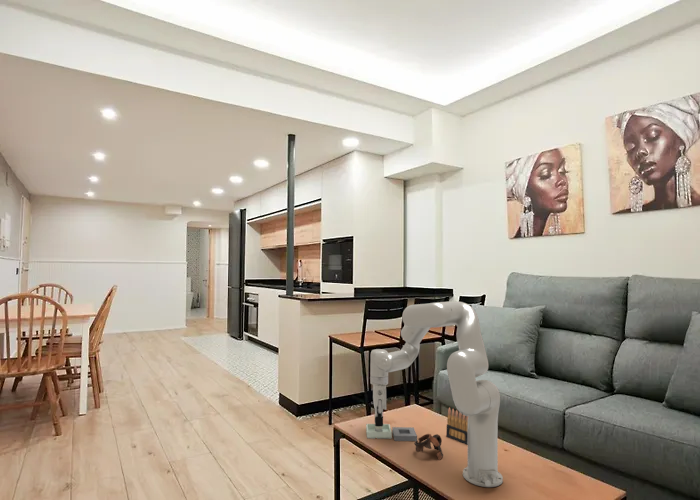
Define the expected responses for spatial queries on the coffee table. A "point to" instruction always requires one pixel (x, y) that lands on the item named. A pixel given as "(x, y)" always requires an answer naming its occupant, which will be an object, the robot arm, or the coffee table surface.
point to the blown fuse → (378, 428)
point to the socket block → (404, 434)
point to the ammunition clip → (457, 427)
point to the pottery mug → (427, 443)
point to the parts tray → (379, 435)
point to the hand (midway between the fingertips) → (378, 423)
